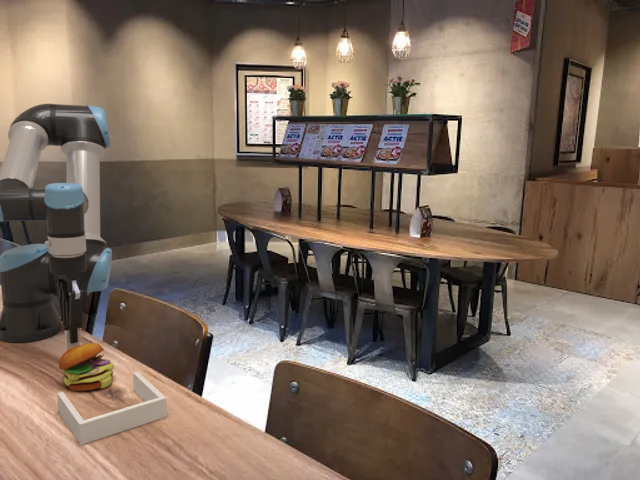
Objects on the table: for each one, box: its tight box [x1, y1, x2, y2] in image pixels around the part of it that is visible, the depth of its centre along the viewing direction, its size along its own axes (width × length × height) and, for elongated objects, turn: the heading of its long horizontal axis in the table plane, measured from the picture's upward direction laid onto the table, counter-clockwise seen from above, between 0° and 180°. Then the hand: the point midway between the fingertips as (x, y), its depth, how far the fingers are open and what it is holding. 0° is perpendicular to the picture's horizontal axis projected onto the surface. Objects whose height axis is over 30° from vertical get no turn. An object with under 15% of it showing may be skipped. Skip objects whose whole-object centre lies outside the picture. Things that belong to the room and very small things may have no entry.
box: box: [57, 371, 167, 446], centre depth 104 cm, size 14×16×4 cm
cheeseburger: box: [58, 342, 115, 392], centre depth 116 cm, size 10×11×10 cm
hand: (73, 354), depth 121 cm, fingers closed
